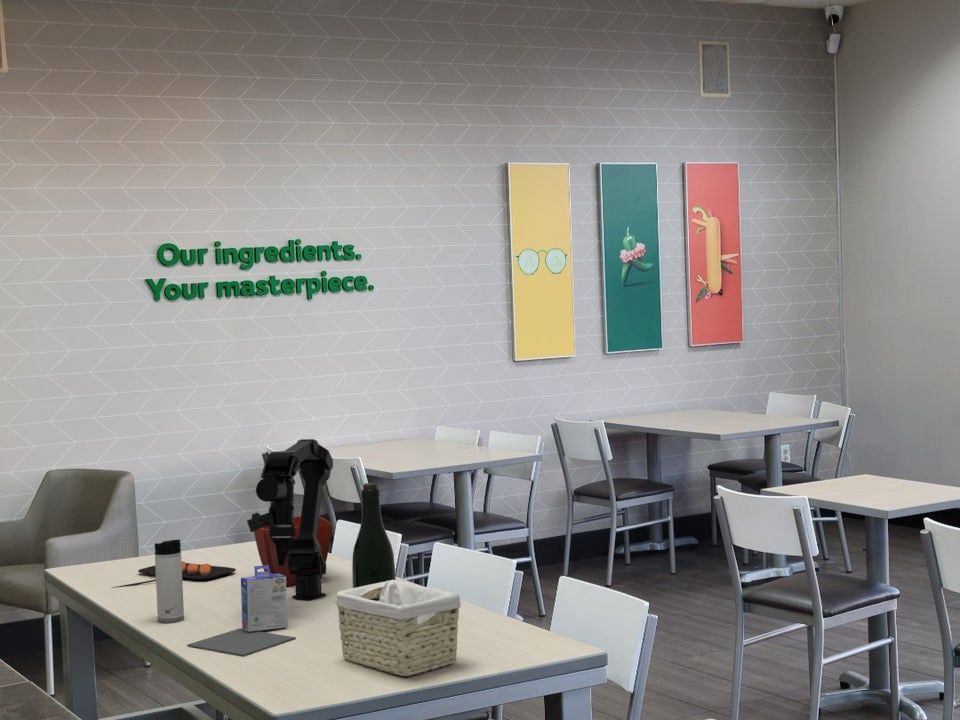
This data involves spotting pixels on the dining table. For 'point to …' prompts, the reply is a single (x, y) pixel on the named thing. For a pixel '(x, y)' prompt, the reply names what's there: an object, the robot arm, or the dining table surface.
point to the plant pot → (270, 556)
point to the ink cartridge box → (263, 601)
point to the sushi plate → (190, 572)
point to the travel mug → (169, 581)
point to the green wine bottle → (372, 544)
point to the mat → (241, 642)
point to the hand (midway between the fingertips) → (281, 566)
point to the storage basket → (399, 626)
